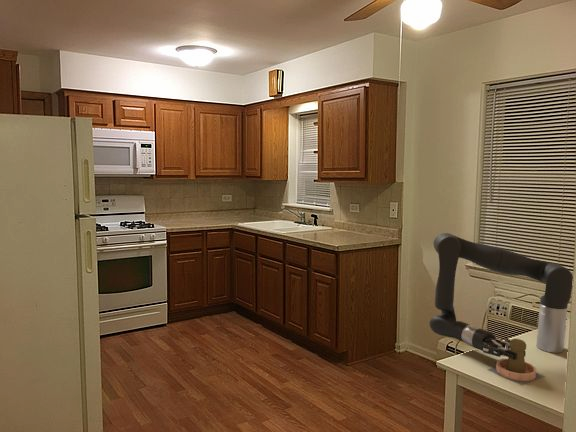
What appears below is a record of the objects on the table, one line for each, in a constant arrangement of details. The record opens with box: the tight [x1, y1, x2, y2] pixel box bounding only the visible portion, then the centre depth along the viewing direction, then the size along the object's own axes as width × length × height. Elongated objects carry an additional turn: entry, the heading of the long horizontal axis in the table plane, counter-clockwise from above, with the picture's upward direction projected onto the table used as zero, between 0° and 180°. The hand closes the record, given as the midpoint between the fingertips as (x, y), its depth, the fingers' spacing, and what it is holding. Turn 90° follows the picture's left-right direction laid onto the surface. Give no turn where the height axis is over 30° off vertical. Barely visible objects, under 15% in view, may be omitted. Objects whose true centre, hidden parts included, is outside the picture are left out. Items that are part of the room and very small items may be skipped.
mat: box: [486, 366, 546, 386], centre depth 164 cm, size 13×13×1 cm
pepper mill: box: [506, 338, 527, 373], centre depth 163 cm, size 6×6×11 cm
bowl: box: [495, 358, 537, 382], centre depth 164 cm, size 12×12×2 cm
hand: (520, 355), depth 162 cm, fingers closed on pepper mill, 4 cm apart
